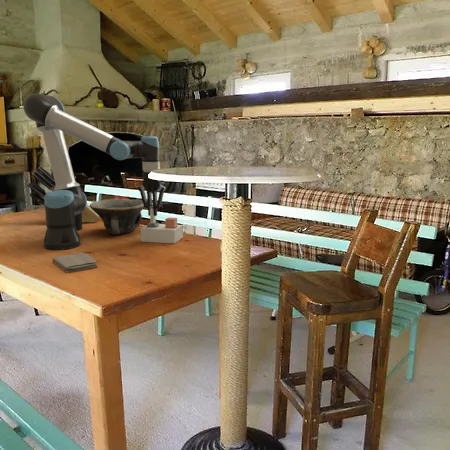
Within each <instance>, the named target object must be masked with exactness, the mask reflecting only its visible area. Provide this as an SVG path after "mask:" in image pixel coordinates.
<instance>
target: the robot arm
mask: <svg viewBox="0 0 450 450" xmlns="http://www.w3.org/2000/svg"><path fill="white" fill-rule="evenodd" d="M23 112H24V113H25V115H26V117H27V118H28V119H29V120H31V121H33V122H34V123H35V125H36V128H37V130H39V132H41V134H42V137H43V141H44V145H45V147H46V152H47V157H48V160H49V164H50V168H51V173H52V176H53V177H54V180H55V185H56V187H55V188H53V190H54V191H51V190H50V191H48V192H46V193H47V194H46V195H45V198H44V199H45V201H44V204H45V206H44V210H45V222H46V231H45V234H44V239H43V248H44V249H47V250H67V249H73V248H78V247H79V246H81V245H82V241H81V238H80V234H79V232H78V231H77V230H76V227H75V216H76V215H78V214H80V213H81V212H82V211H83V210H84V209H85V207H86V205H87V204H88V200H87V199H88V198H87V196H86V194H85V193H84V192H83V191H82V188H81V184H80V183H78V182H77V181H76V179H75V174H74V171H73V166H72V162H71V158H70V154H69V151H68V146H67V142H66V139H65V134H67V135H69V136H71V137H74V138H75V139H77V140H79V141H82V142H84V143H86V144H87V145H90V146H91V147H94V148H96V149H97V150H100V151H102V152H104V153H106V154H108V155H109V156H111V157H112V158H113V159H115V160H117V161H124V160H126V159H127V160H128V159H142V161H141V162H142V171H143V172H142V183H141V184H142V185H140V186H137V189H138V191H139V194H140V197H141V201H143V205H144V208H146V209H147V215H148V217H149V220H150V222H149V223H157V221H156V219H157V218H156V216H158V209H159V208H161V207H162V202H163V199H164V193H165V190H166V189H167V188H166V186H164V185H162V183H161V180H160V181H157V180H152V179H149V178H148V174H149V173H150V172H151V171H153V170H157V169H161V168H160V145H159V137H158V136H155V135H154V136H141V139H140V140H122V139H120V138H117V137H115V136H114V135H112V134H110V133H108V132H106V131H103V130H101V129H99V128H98V127H95V126H93V124H92V125H91V124H89V123H87V122H86V121H83V120H81V119H80V118H77V117H76V116H74V115H71V114H69V113H68V112H65V107H64V105H63V103H62V102H61V101H60V100H59V99H58V98H57V97H54V96H52V95H47V94H46V95H45V94H42V93H32V94H29V95H28V96H27V97H25V99H24V102H23ZM64 133H65V134H64ZM158 190H159V193H158Z"/></svg>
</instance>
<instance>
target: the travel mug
mask: <svg viewBox="0 0 450 450" xmlns="http://www.w3.org/2000/svg"><path fill="white" fill-rule="evenodd" d="M75 227H76V230H77V232H78V231H82V230H83V222H82V212H81V213H80V214H78V215H76V216H75Z"/></svg>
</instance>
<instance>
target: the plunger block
mask: <svg viewBox="0 0 450 450" xmlns="http://www.w3.org/2000/svg"><path fill="white" fill-rule="evenodd" d="M181 238H182V239H183V238H184V225H183V224H177V228H175V229H174V228H165V223H159V226H158V227H156V228H154V227H147V225H144V226H143V227H141V228H140V242H142V243H163V244H176V243H177V242H179V241H180V240H182V239H181Z"/></svg>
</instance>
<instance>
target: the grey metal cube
mask: <svg viewBox="0 0 450 450" xmlns="http://www.w3.org/2000/svg"><path fill="white" fill-rule="evenodd" d="M159 224H160V223H159V222H155V223H150V222H148V223H146V226H147V227H154V228H156V227H158V226H159Z"/></svg>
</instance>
